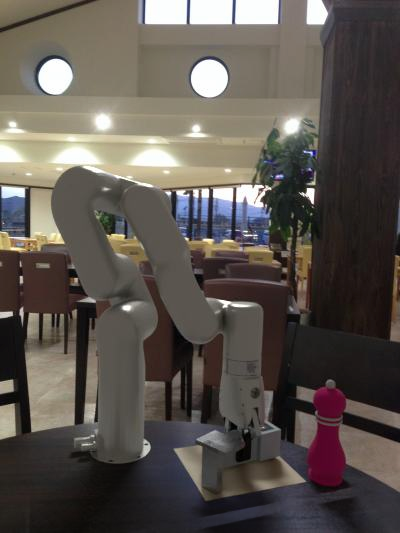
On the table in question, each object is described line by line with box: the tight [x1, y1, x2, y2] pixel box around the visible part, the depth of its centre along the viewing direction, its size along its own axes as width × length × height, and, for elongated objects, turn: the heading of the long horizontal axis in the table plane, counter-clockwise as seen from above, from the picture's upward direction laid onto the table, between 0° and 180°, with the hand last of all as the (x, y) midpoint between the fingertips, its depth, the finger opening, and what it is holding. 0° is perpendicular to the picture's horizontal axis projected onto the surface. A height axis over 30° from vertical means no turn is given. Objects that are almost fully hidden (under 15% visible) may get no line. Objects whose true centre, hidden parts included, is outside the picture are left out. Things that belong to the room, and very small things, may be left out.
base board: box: [173, 444, 307, 502], centre depth 88 cm, size 20×19×1 cm
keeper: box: [195, 429, 245, 495], centre depth 81 cm, size 6×7×9 cm
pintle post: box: [260, 426, 269, 432], centre depth 91 cm, size 2×2×8 cm
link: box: [202, 419, 282, 468], centre depth 89 cm, size 16×5×6 cm, turn 119°
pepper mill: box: [306, 379, 347, 493], centre depth 84 cm, size 7×7×20 cm
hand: (237, 455), depth 89 cm, fingers closed on link, 3 cm apart
